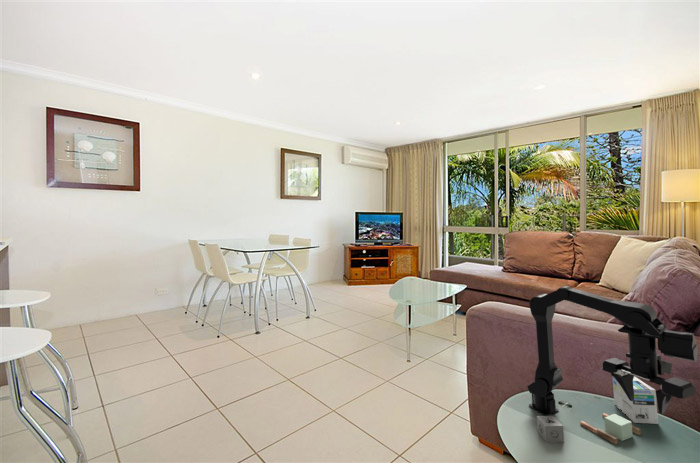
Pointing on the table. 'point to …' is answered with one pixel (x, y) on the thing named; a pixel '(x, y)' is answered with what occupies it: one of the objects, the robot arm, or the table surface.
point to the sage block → (618, 427)
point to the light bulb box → (637, 402)
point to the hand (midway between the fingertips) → (646, 406)
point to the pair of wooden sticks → (605, 434)
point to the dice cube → (550, 429)
